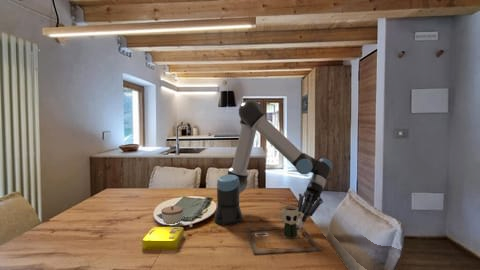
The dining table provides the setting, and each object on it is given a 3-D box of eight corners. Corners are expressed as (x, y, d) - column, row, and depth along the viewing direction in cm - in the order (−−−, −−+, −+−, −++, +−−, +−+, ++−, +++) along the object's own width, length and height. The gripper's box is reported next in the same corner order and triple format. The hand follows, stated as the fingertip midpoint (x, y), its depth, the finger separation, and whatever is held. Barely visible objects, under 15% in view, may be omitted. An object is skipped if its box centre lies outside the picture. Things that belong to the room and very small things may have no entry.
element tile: (153, 235, 130) (152, 225, 130) (184, 235, 130) (184, 225, 130) (140, 250, 116) (140, 239, 115) (176, 250, 115) (176, 239, 115)
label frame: (253, 254, 110) (253, 253, 110) (245, 229, 135) (245, 228, 135) (321, 250, 113) (321, 249, 113) (301, 227, 138) (301, 225, 138)
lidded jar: (187, 223, 144) (186, 205, 143) (169, 229, 136) (168, 210, 135) (175, 218, 151) (175, 201, 150) (157, 224, 143) (157, 206, 143)
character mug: (279, 239, 124) (280, 210, 123) (277, 232, 131) (277, 205, 131) (304, 238, 125) (304, 210, 124) (300, 232, 132) (300, 205, 131)
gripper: (330, 192, 140) (313, 234, 129) (307, 187, 149) (289, 226, 138) (325, 183, 136) (307, 226, 125) (302, 179, 145) (283, 219, 134)
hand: (298, 226), depth 131 cm, fingers closed
